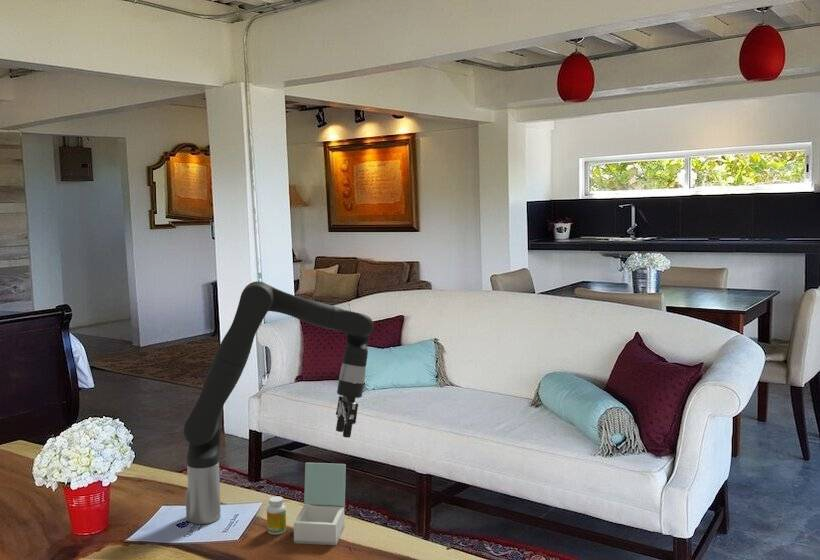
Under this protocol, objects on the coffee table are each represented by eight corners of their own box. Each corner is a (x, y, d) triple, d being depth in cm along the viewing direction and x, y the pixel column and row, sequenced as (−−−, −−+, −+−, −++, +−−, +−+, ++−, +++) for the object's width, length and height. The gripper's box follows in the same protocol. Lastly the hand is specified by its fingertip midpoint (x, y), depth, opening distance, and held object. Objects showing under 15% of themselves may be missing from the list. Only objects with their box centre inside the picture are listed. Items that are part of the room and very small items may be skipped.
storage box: (294, 543, 212) (293, 522, 211) (304, 524, 224) (304, 505, 223) (336, 545, 210) (335, 524, 210) (344, 526, 222) (344, 506, 222)
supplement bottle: (282, 535, 216) (281, 503, 215) (264, 534, 217) (263, 501, 216) (288, 527, 221) (288, 495, 220) (271, 526, 223) (270, 494, 221)
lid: (305, 463, 223) (305, 462, 224) (304, 504, 223) (304, 503, 224) (345, 464, 222) (345, 464, 223) (344, 505, 221) (344, 505, 222)
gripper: (334, 375, 230) (325, 428, 229) (345, 381, 217) (336, 437, 216) (357, 378, 233) (348, 431, 232) (370, 384, 219) (361, 440, 218)
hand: (342, 434), depth 224 cm, fingers open, 8 cm apart
